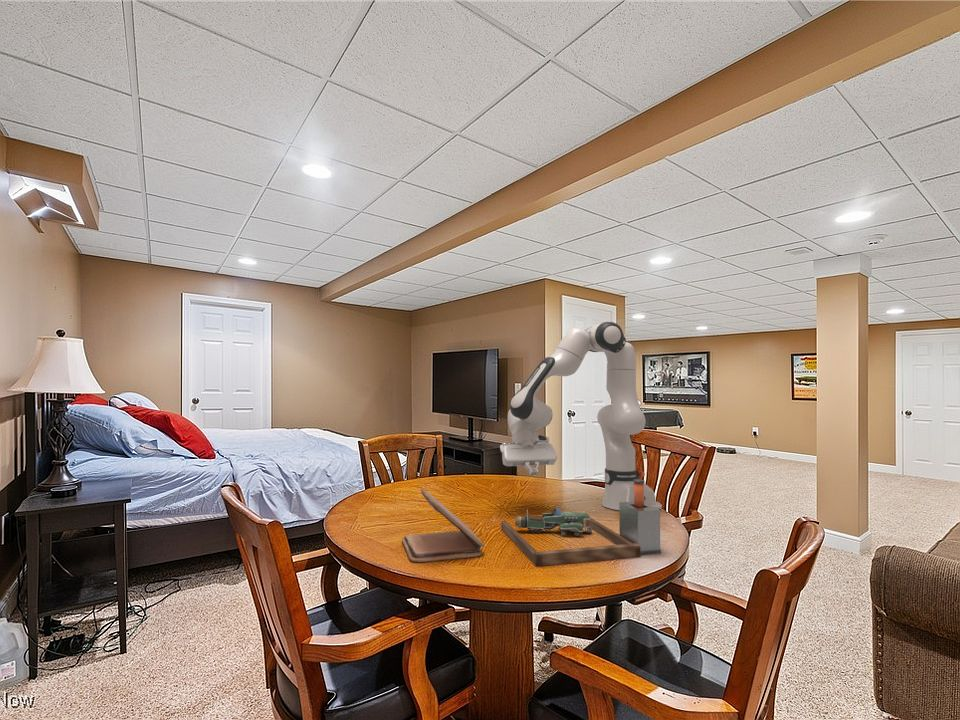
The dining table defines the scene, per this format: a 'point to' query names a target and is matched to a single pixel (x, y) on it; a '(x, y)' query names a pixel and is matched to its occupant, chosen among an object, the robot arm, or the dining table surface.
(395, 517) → the dining table surface
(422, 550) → the case
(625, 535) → the grey holder box
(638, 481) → the orange and black cylinder
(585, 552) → the brown flat square frame
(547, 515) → the hoverbike
